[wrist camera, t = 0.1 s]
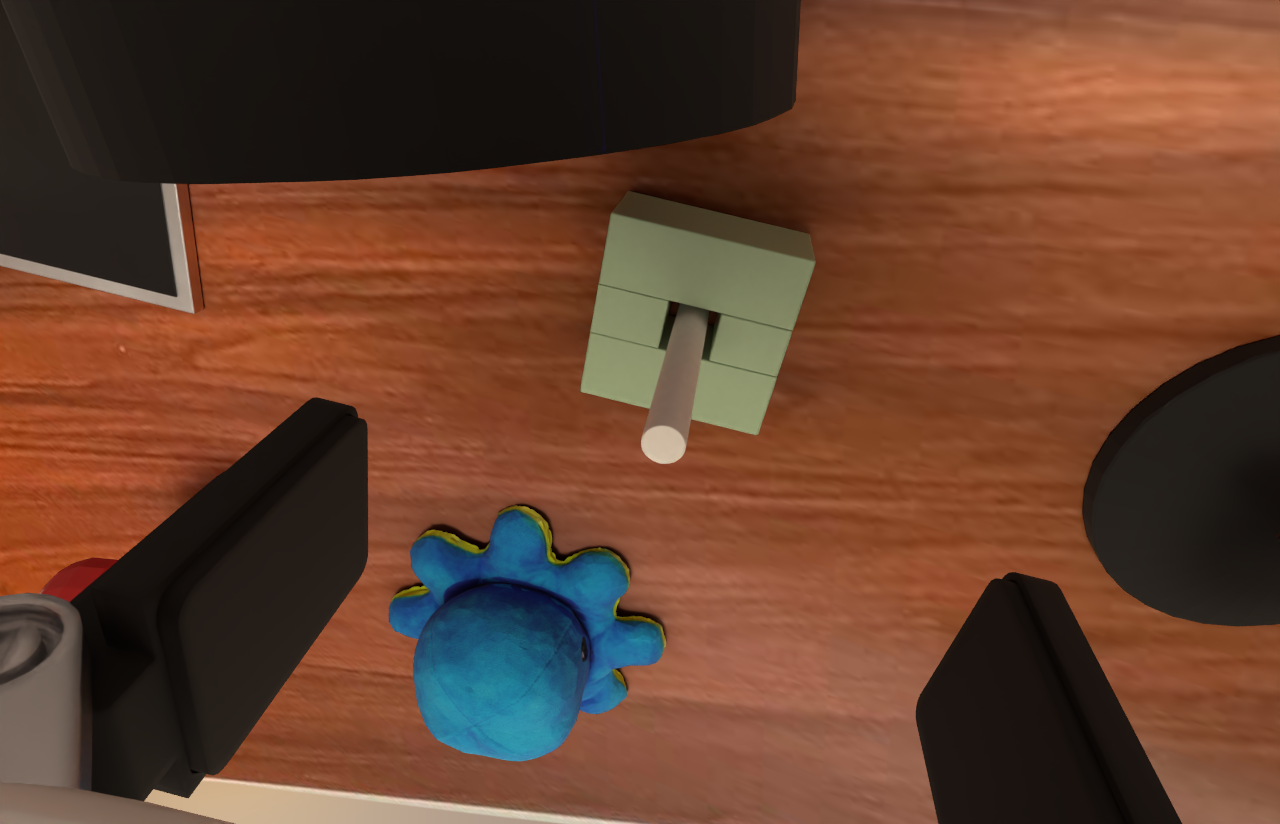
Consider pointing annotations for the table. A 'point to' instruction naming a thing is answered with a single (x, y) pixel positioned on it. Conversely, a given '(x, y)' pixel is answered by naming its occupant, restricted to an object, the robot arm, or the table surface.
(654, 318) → the pen stand
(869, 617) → the table surface
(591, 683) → the plush toy
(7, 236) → the tablet
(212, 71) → the black wheel
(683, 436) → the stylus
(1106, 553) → the microphone
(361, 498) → the robot arm
